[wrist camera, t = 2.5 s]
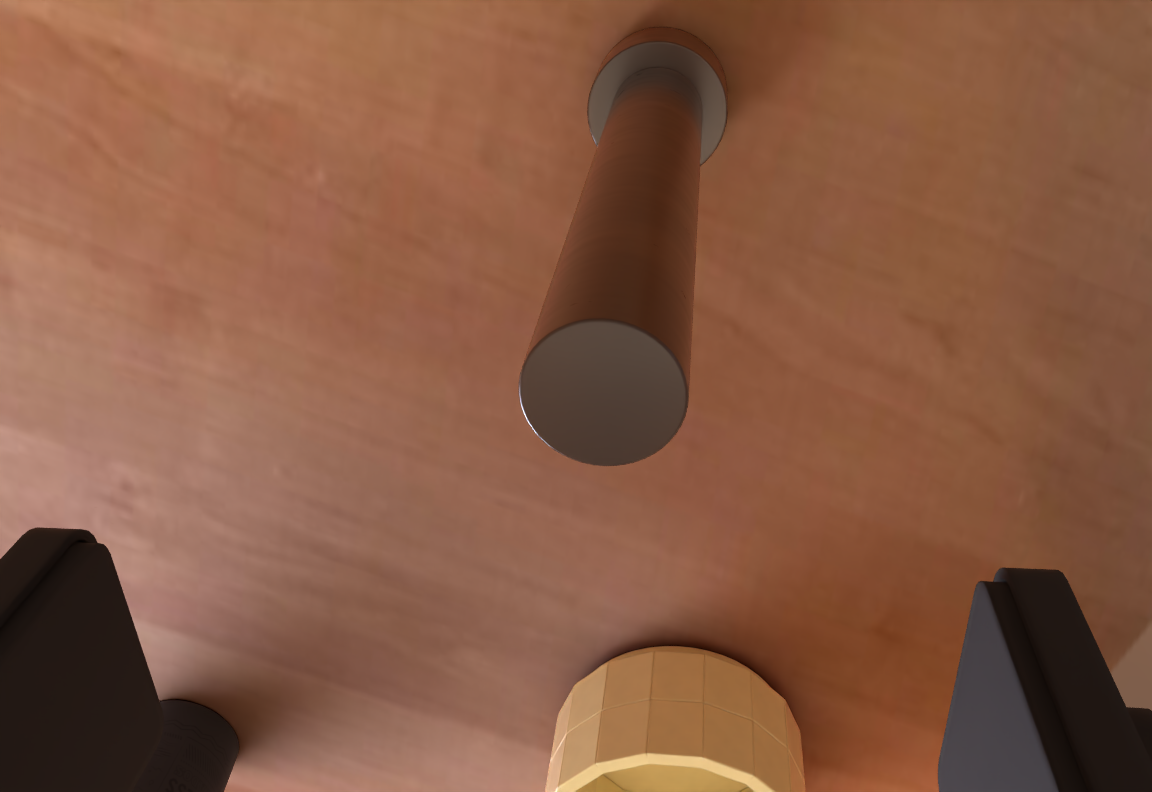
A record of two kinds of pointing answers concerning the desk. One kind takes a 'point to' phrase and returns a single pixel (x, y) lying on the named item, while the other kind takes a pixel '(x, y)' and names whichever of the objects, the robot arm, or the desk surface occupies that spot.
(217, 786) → the drinking cup
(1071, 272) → the desk surface
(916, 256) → the desk surface
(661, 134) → the stirrer
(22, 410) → the desk surface
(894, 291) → the desk surface
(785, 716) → the bowl
